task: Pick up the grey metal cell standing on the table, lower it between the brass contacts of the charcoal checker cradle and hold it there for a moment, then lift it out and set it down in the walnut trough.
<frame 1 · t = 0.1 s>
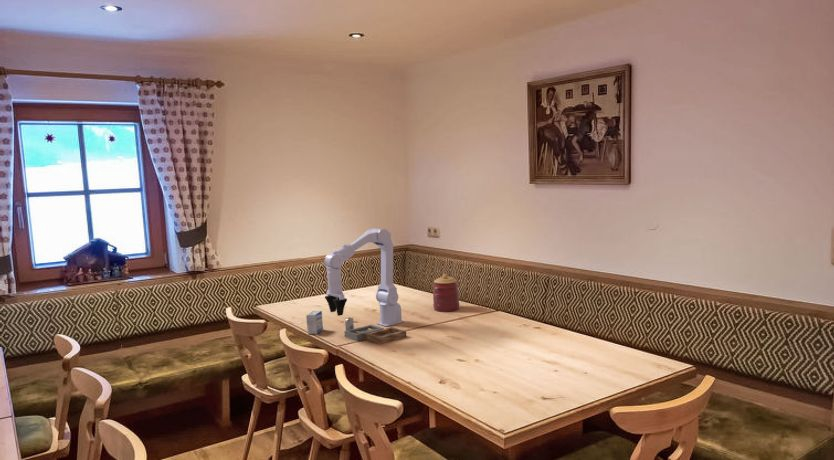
hand: (336, 313, 256), 10 cm above the table, tool pointing down, fingers open, 7 cm apart
cell: (349, 332, 262), on the table
cradle: (364, 335, 257), on the table
medicine box: (315, 332, 266), on the table
trough: (385, 338, 251), on the table
canister: (446, 309, 297), on the table
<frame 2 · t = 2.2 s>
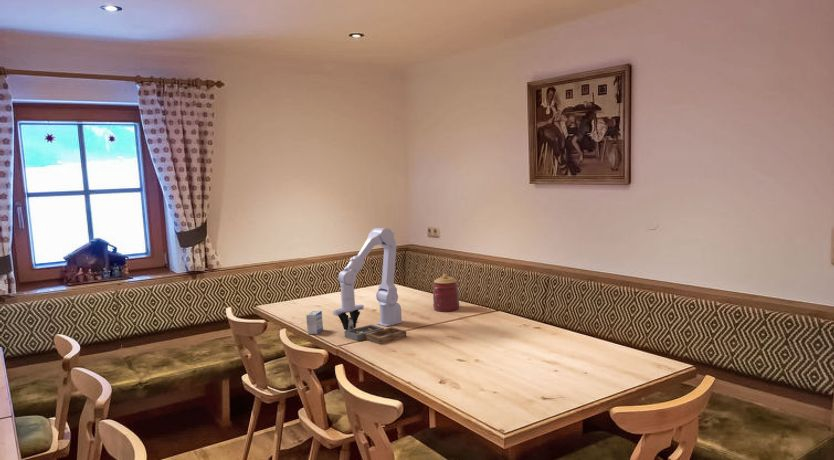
hand: (349, 328, 262), 2 cm above the table, tool pointing down, fingers closed on cell, 4 cm apart
cell: (349, 332, 262), on the table, touching gripper
everything else where it was.
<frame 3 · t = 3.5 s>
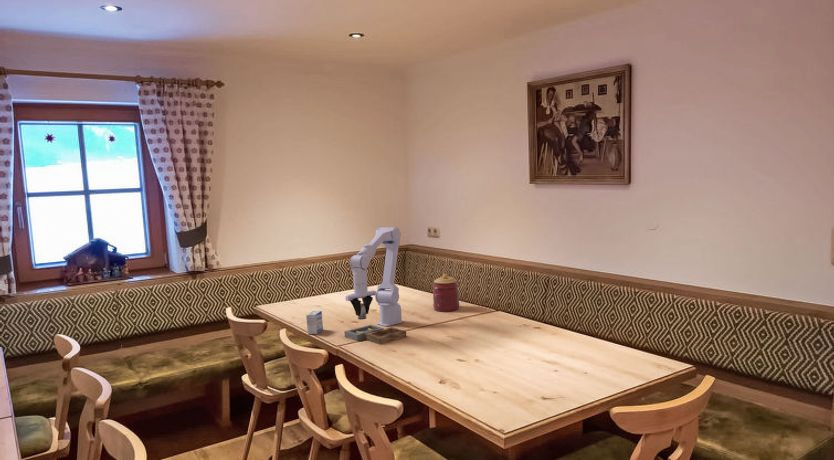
hand: (362, 314, 256), 9 cm above the table, tool pointing down, fingers closed on cell, 4 cm apart
cell: (362, 318, 256), point 7 cm above the table, touching gripper
everything else where it was.
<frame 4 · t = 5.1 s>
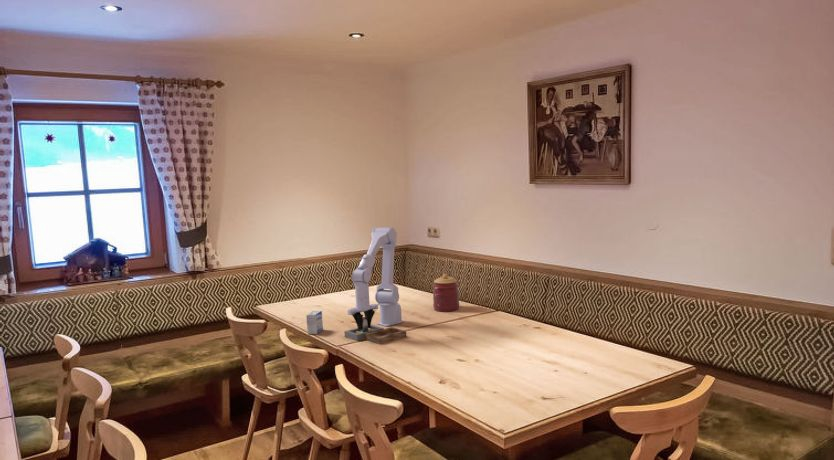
hand: (364, 328, 256), 3 cm above the table, tool pointing down, fingers closed on cell, 4 cm apart
cell: (364, 332, 256), point 1 cm above the table, touching gripper
everything else where it was.
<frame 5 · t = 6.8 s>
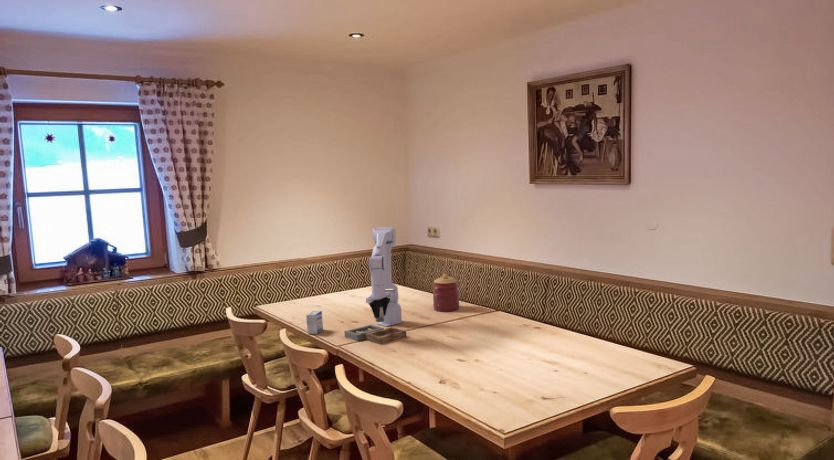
hand: (380, 316, 251), 9 cm above the table, tool pointing down, fingers closed on cell, 4 cm apart
cell: (379, 320, 251), point 7 cm above the table, touching gripper
everything else where it was.
when the fingers open (3 cm above the table, at t = 8.4 s): cell stays where it is, resting on trough.
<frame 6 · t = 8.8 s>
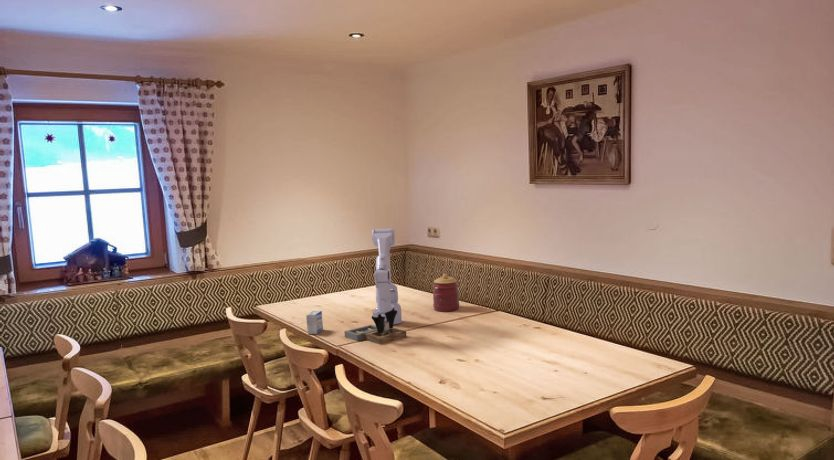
hand: (385, 330, 250), 3 cm above the table, tool pointing down, fingers open, 7 cm apart
cell: (385, 336, 251), point 1 cm above the table, touching trough
everything else where it was.
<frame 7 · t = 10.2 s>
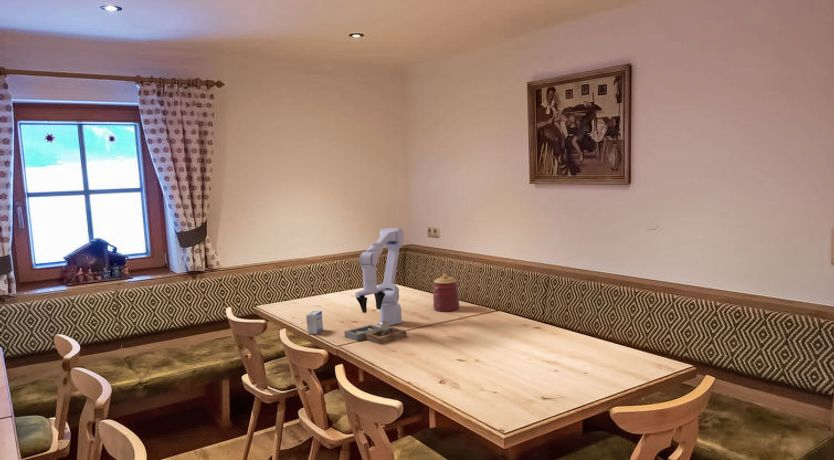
hand: (371, 310, 258), 10 cm above the table, tool pointing down, fingers open, 7 cm apart
nothing on the table moved.
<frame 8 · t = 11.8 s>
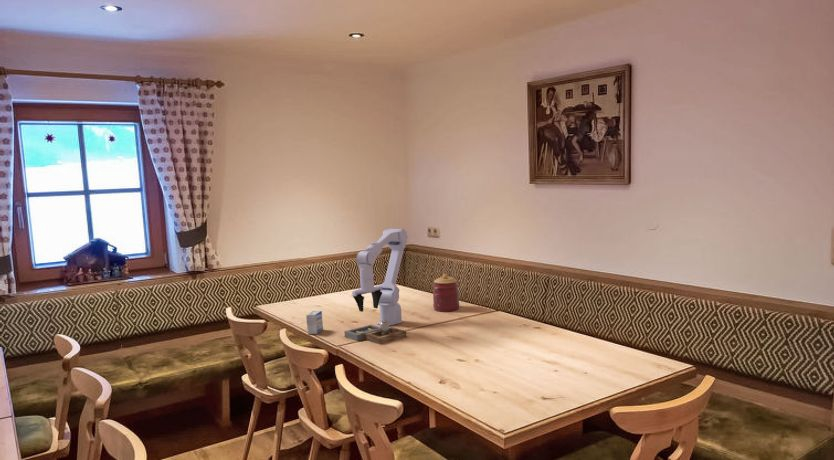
hand: (368, 309, 260), 10 cm above the table, tool pointing down, fingers open, 7 cm apart
nothing on the table moved.
at the end: cell inside the target area on the trough (0.2 cm from its centre), point 0.8 cm above the trough's base; the gripper is holding nothing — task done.
